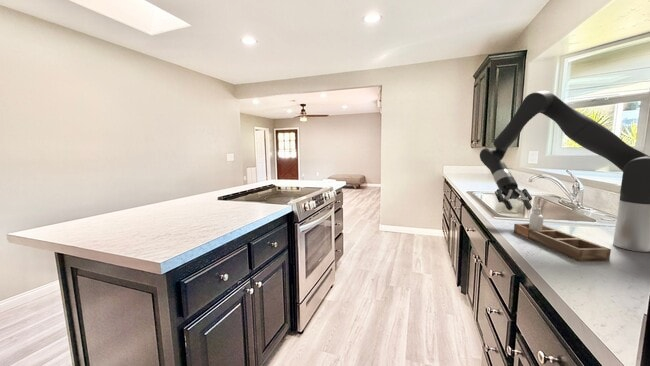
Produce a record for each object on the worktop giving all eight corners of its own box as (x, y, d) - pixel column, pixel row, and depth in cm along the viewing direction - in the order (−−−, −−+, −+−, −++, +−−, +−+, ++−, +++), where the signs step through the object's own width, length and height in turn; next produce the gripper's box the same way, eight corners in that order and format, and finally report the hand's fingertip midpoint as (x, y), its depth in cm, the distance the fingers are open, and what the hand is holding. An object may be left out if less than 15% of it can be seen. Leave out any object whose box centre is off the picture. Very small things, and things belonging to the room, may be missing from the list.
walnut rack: (537, 232, 113) (538, 223, 113) (609, 260, 85) (611, 249, 84) (512, 232, 113) (513, 223, 113) (577, 261, 85) (578, 249, 84)
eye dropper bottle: (541, 232, 109) (544, 204, 107) (541, 236, 105) (544, 207, 103) (528, 230, 112) (531, 203, 110) (527, 233, 107) (530, 205, 106)
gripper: (494, 175, 122) (509, 205, 113) (523, 175, 122) (541, 204, 113) (486, 185, 128) (500, 213, 119) (514, 184, 128) (530, 213, 119)
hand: (520, 209), depth 116 cm, fingers open, 8 cm apart
